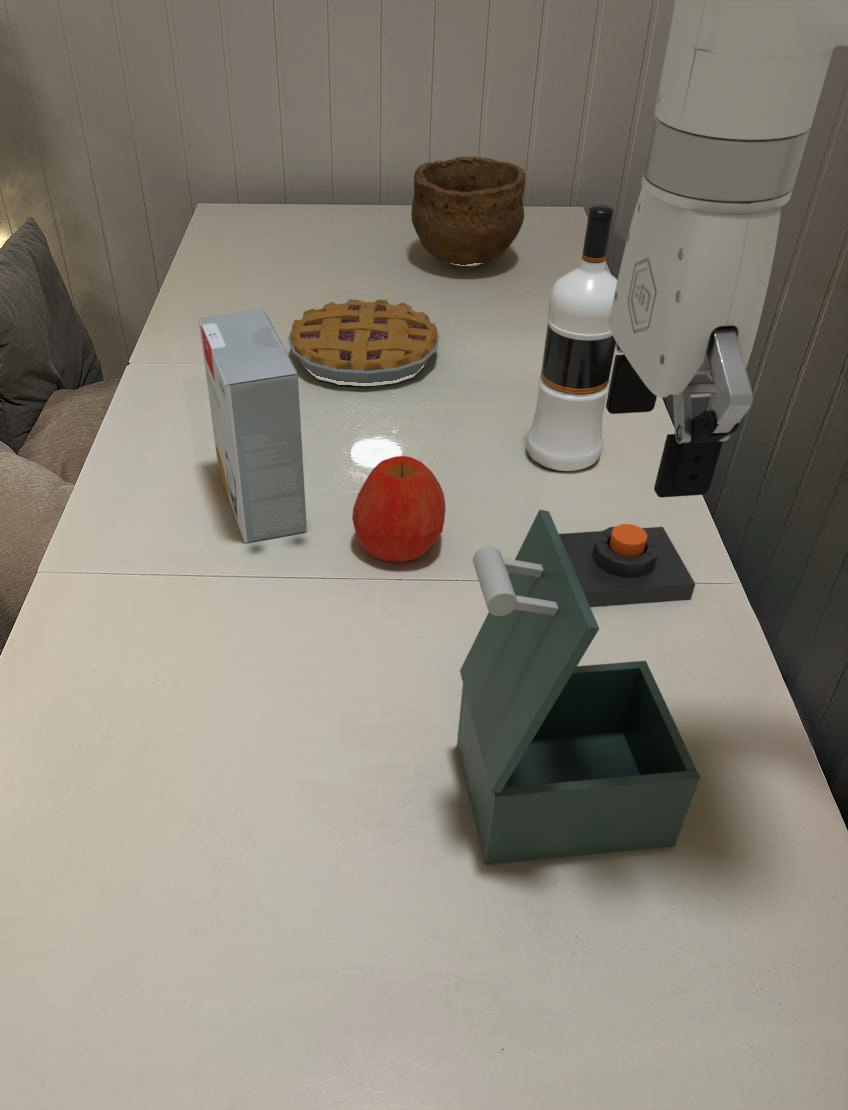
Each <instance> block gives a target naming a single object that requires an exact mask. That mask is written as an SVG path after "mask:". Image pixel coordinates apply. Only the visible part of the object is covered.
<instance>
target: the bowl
mask: <svg viewBox="0 0 848 1110" xmlns="http://www.w3.org/2000/svg"><path fill="white" fill-rule="evenodd" d="M413 176H414V177H413V199H412V203H411V210H410V211H411V215H410V217H411V223H412V226H413V228H414V230H415V233H416V235H417V237H418V239H419V241H420V244H421V246H422V247H423V248H424V250H425V251H426V252H427V253H428V254H429V255H431V256H432V257H434V258H435V259H437V260H439V261H441V262H443V261H444V262H443V263H446V262H448V263H447V264H449V263H453V264H460V265H467V264H473V263H485V264H488V263H490V261H491V262H494V261H495V260H497V259H499V258H500V257H502V256H503V255H504V254H505V253H506V251H507V250H508V249H509V248H510V246H511V245H512V244H513V242H514V241H515V239H516V238H517V236H518V235H519V233H520V230H521V229H522V227H523V224H524V221H525V209H524V203H523V195H524V193H525V188H526V173H525V169H523V168H522V167H521V166H519V165H516V164H514V163H511V162H509V161H499V160H495V159H493V158H487V157H482V156H475V155H471V156H457V157H455V158H452V159H447V160H444V161H443V160H435V161H433V162H431V161H429V162H424V163H422V164H420V165H419V166H418V167H417V168H416V169H415V171H414V175H413ZM487 262H488V263H487Z"/></svg>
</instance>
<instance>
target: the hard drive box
mask: <svg viewBox="0 0 848 1110" xmlns="http://www.w3.org/2000/svg"><path fill="white" fill-rule="evenodd" d="M197 321H198V325H199V332H200V340H201V347H202V353H203V361H204V368H205V369H204V370H205V377H206V383H207V391H208V399H209V400H208V401H209V406H210V407H209V408H210V414H211V422H212V423H211V424H212V432H213V438H214V439H213V440H214V445H215V452H216V459H217V467H218V471H219V475H220V478H221V480H222V483H223V484H222V485H223V486H224V490H225V493H226V496H227V498H228V501H229V504H230V506H231V509H232V511H233V515H234V518H235V521H236V523H237V526H238V529H239V532H240V534H241V537H242V540H243V543H251V542H257V541H261V540H268V539H273V538H278V537H283V536H289V535H294V534H299V533H304V532H305V533H306V531H307V510H306V493H305V476H304V474H305V473H304V460H303V459H304V457H303V456H304V455H303V442H302V423H301V406H300V389H299V374H298V371H297V369H296V367H295V365H294V363H293V361H292V359H291V358H290V356H289V353H288V352H287V350H286V348H285V347H284V345H283V342H282V341H281V339H280V337H279V335H278V334H277V332H276V331H277V330H276V329H275V327H274V325H273V323H272V321H271V320H270V318H269V316H268V315H267V313H266V312H265V310H264V309H254V310H246V311H238V312H231V313H224V314H223V313H222V314H216V315H209V316H202V317H199V318H197Z"/></svg>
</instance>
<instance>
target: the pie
mask: <svg viewBox="0 0 848 1110" xmlns="http://www.w3.org/2000/svg"><path fill="white" fill-rule="evenodd" d="M287 340H288V343H289V346H290V349H291V351H292V353H293V354H294V355H295V356H296V357H297V358H298V359H299V361H300V363H301V365H302V367H303V368H304V367H306V368H307V369H308V370H310V371H311V372H312V373H313V374H315V375H316V376H320V377H324V378H328V379H332V380H336V381H344V382H357V383H373V382H383V381H393V380H397V379H400V378H403V377H406V376H409V375H413V374H415V373H417V371H419V369H421V367H422V366H423V365H425V364H426V365H427V363H429V360H430V359H431V356H432V355H433V354H435V353H436V352H437V351H438V347H439V342H440V334H439V333H438V328H437V326H436V324H435V323H434V322H433V323H432V321H431V320H430V318H429V315H428V314H427V313H425V312H424V311H418V312H417V311H416V310H413V308H412V306H411V305H408V304H407V303H405V302H400V303H399V304H397V305H396V304H390V303H389V301H388V300H387V299H377V300H375V301H373V302H370V301H363V300H361V299H353V298H352V299H351V298H350V299H349V300H347V301H346V302H344V303H339V304H337V303H335V302H333V301H331V302H328V303H327V304H324V305H323V306H322V307H321V308H318V309H315V308H310V309H308V310H306V311H303V314H302V318H300V319H294V321H293V323H292V325H291V331H290V333H289V335H288V338H287ZM426 365H425V366H426Z"/></svg>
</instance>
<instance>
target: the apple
mask: <svg viewBox="0 0 848 1110" xmlns="http://www.w3.org/2000/svg"><path fill="white" fill-rule="evenodd" d="M446 509H447V508H446V499H445V495H444V491H443V488H442V486H441V484H440V482H439V480H438V479H437V477H436V476H435V474H434V473H433V471H431V469H430V468H429V467H428V466H427V465H425V464H424V463H423V462H422V461H421V460H419V459H417V458H414V457H412V456H407V455H399V456H397V455H396V456H393V457H389V458H386V459H383V460H381V461H380V462H379V463H377V464H376V466H375V467H374V468H373V469H372V470H371V471H370V473H369V474H368V476H367V477H366V479H365V481H364V482H363V484H362V486H361V488H360V489H359V491H358V493H357V495H356V499H355V502H354V505H353V508H352V516H351V517H352V518H351V519H352V523H353V528H354V531H355V532H354V533H355V536H356V539H357V540H358V541H359V543H360V544H361V545H362V547H363V548H364V550H366V552H367V553H368V554H369V555H370V556H371V557H374V558H376V559H379V560H381V561H384V562H394V563H404V562H408V561H412V560H415V559H419V558H421V557H423V555H425V554H426V553H427V552H428V550H429V549H430V548H431V547H432V546H433V544H434V543H435V542H436V540H437V539H438V538H439V536H441V534H442V533H443V529H444V525H445V519H446V518H445V517H446Z"/></svg>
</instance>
